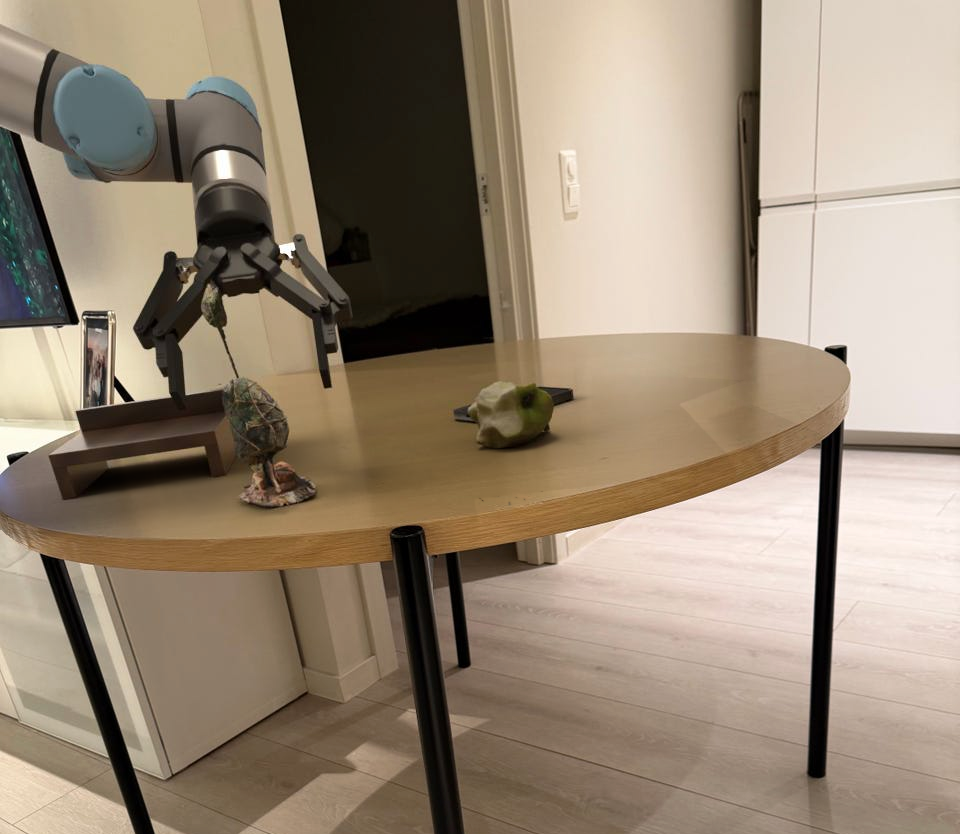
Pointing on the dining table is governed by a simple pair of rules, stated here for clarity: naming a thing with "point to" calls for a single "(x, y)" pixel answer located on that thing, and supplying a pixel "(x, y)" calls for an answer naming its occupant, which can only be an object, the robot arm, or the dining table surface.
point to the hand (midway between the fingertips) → (252, 390)
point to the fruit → (511, 414)
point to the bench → (143, 437)
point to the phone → (555, 393)
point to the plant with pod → (256, 427)
